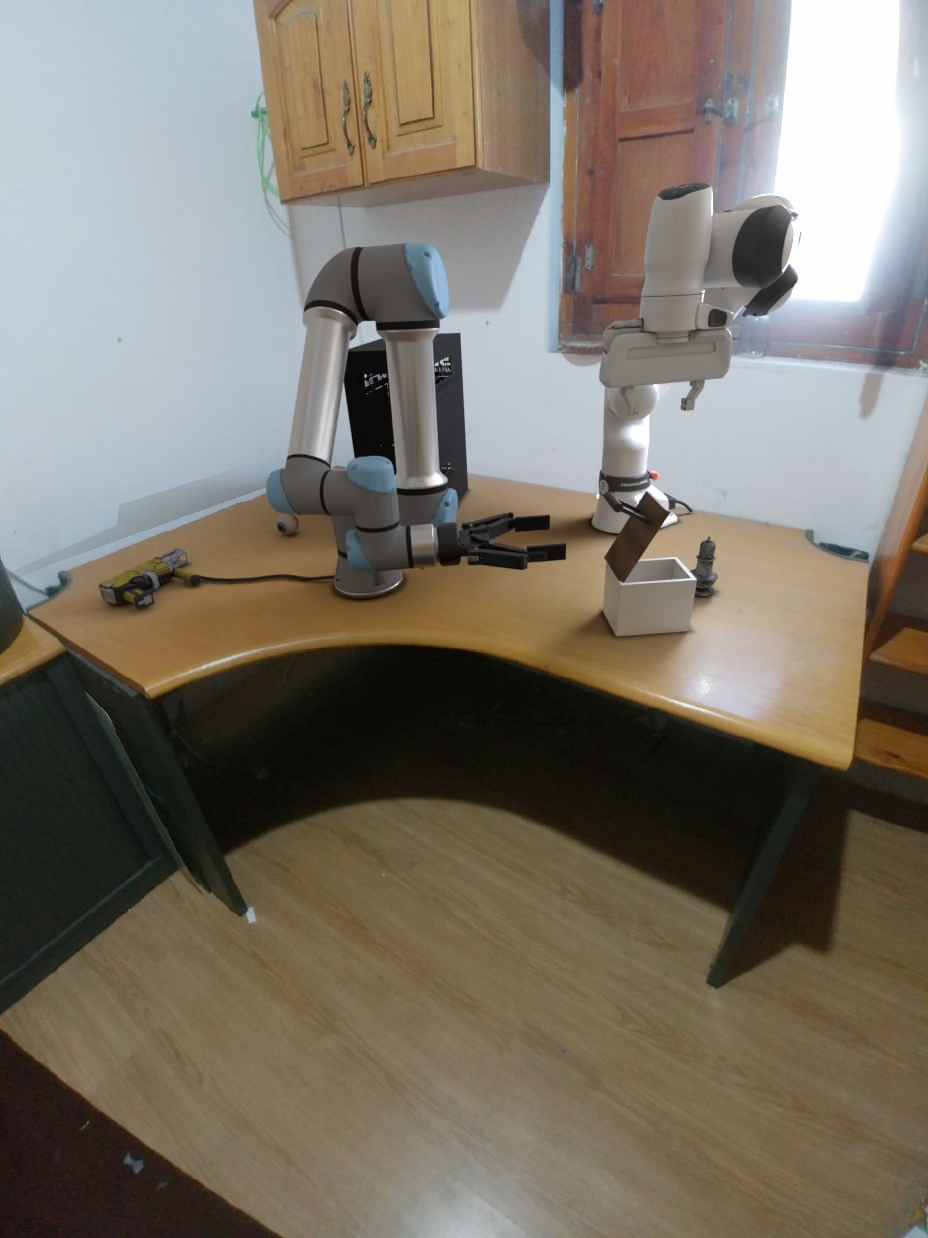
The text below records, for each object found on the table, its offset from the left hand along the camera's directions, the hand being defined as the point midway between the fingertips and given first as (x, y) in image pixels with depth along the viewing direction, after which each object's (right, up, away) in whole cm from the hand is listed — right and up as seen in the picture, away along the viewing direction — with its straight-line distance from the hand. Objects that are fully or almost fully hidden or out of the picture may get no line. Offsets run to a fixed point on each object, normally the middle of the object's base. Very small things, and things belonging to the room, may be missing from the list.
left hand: (557, 535), depth 106 cm
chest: (+18, -15, +10) cm, 26 cm away
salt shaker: (+33, -9, +19) cm, 39 cm away
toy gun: (-86, -7, +34) cm, 92 cm away
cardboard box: (-29, +18, +71) cm, 79 cm away
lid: (+14, 0, +1) cm, 15 cm away
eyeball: (-64, +8, +59) cm, 88 cm away
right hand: (+15, +19, -9) cm, 26 cm away
